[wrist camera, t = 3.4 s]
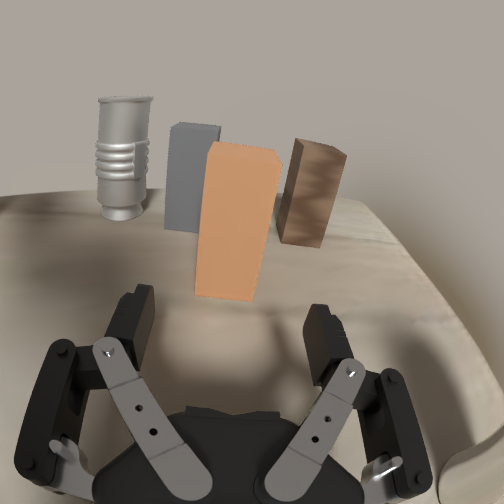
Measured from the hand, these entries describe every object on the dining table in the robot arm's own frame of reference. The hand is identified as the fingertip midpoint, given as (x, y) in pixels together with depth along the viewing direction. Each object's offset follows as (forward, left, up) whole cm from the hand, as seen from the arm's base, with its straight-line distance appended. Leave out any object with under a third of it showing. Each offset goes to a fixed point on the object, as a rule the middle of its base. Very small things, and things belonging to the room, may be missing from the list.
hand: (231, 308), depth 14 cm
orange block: (-3, +10, -7) cm, 13 cm away
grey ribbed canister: (-20, +18, -7) cm, 28 cm away
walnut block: (+3, +23, -7) cm, 24 cm away
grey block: (-10, +20, -7) cm, 23 cm away
